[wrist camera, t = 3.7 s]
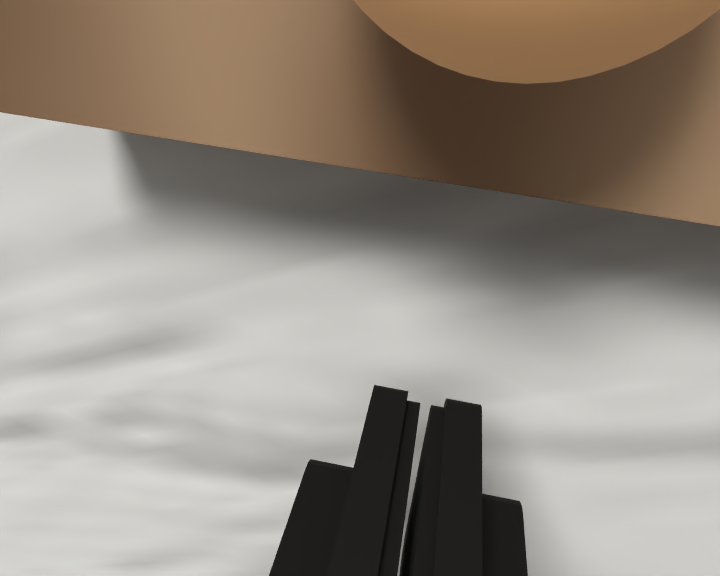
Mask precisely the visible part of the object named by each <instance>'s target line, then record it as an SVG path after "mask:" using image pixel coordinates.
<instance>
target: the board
mask: <svg viewBox="0 0 720 576" xmlns="http://www.w3.org/2000/svg"><path fill="white" fill-rule="evenodd" d="M0 112H3V113H9V114H15V115H22V116H28V117H34V118H41V119H47V120H53V121H59V122H66V123H72V124H78V125H85V126H91V127H97V128H103V129H110V130H116V131H122V132H129V133H135V134H141V135H148V136H154V137H160V138H166V139H173V140H179V141H185V142H192V143H198V144H204V145H211V146H217V147H223V148H229V149H236V150H242V151H248V152H255V153H261V154H267V155H274V156H280V157H286V158H292V159H299V160H305V161H311V162H318V163H324V164H330V165H336V166H343V167H349V168H355V169H362V170H368V171H374V172H381V173H387V174H393V175H399V176H406V177H412V178H418V179H425V180H431V181H437V182H444V183H450V184H456V185H462V186H469V187H475V188H481V189H488V190H494V191H500V192H507V193H513V194H519V195H525V196H532V197H538V198H544V199H551V200H557V201H563V202H570V203H576V204H582V205H588V206H595V207H601V208H607V209H614V210H620V211H626V212H632V213H639V214H645V215H651V216H658V217H664V218H670V219H677V220H683V221H689V222H695V223H702V224H708V225H714V226H720V9H719V10H718V11H717V12H715V13H714V14H713V15H711V16H710V17H709V18H707V19H706V20H705V21H703V22H702V23H701V24H699V25H698V26H697V27H695V28H694V29H693V30H691V31H690V32H688V33H686V34H685V35H683V36H681V37H679V38H678V39H676V40H674V41H673V42H671V43H669V44H668V45H666V46H664V47H663V48H661V49H659V50H657V51H655V52H653V53H650V54H648V55H646V56H644V57H642V58H639V59H637V60H635V61H633V62H631V63H628V64H626V65H623V66H620V67H617V68H614V69H611V70H608V71H604V72H601V73H598V74H595V75H592V76H588V77H582V78H577V79H572V80H566V81H561V82H550V83H533V84H522V83H508V82H495V81H491V80H486V79H481V78H477V77H472V76H467V75H464V74H461V73H458V72H456V71H453V70H450V69H447V68H445V67H442V66H439V65H437V64H435V63H433V62H431V61H429V60H427V59H425V58H423V57H422V56H420V55H418V54H416V53H414V52H412V51H410V50H409V49H407V48H406V47H405V46H403V45H402V44H400V43H399V42H398V41H396V40H395V39H393V38H392V37H391V36H389V35H388V34H386V33H385V32H384V31H383V30H382V29H381V28H380V27H379V26H378V25H377V24H376V23H375V22H373V21H372V20H371V19H370V18H369V17H368V16H367V15H366V14H365V13H364V12H363V11H362V10H361V9H360V7H359V6H358V5H357V4H356V3H355V1H354V0H0Z"/></svg>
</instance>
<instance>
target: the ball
mask: <svg viewBox="0 0 720 576" xmlns="http://www.w3.org/2000/svg"><path fill="white" fill-rule="evenodd" d="M354 1H355V3H356V4H357V5H358V6H359V7H360V9H361V10H362V11H363V12H364V13H365V14H366V15H367V16H368V17H369V18H370V19H371V20H372V21H373V22H375V23H376V24H377V25H378V26H379V27H380V28H381V29H382V30H383V31H384V32H385V33H386V34H388V35H389V36H391V37H392V38H393V39H395V40H396V41H398V42H399V43H400V44H402V45H403V46H405V47H406V48H407V49H409V50H410V51H412V52H414V53H416V54H418V55H420V56H422V57H423V58H425V59H427V60H429V61H431V62H433V63H435V64H437V65H439V66H442V67H445V68H447V69H450V70H453V71H456V72H458V73H461V74H464V75H467V76H472V77H477V78H481V79H486V80H491V81H495V82H508V83H522V84H533V83H550V82H561V81H566V80H572V79H577V78H582V77H588V76H592V75H595V74H598V73H601V72H604V71H608V70H611V69H614V68H617V67H620V66H623V65H626V64H628V63H631V62H633V61H635V60H637V59H639V58H642V57H644V56H646V55H648V54H650V53H653V52H655V51H657V50H659V49H661V48H663V47H664V46H666V45H668V44H669V43H671V42H673V41H674V40H676V39H678V38H679V37H681V36H683V35H685V34H686V33H688V32H690V31H691V30H693V29H694V28H695V27H697V26H698V25H699V24H701V23H702V22H703V21H705V20H706V19H707V18H709V17H710V16H711V15H713V14H714V13H715V12H717V11H718V10H719V9H720V0H354Z"/></svg>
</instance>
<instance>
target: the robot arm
mask: <svg viewBox="0 0 720 576" xmlns="http://www.w3.org/2000/svg"><path fill="white" fill-rule="evenodd" d="M407 396H408V391H404V390H398V389H393V388H388V387H382V386H377V385H374V388H373V392H372V396H371V400H370V404H369V408H368V412H367V416H366V420H365V424H364V428H363V432H362V436H361V440H360V444H359V448H358V452H357V456H356V460H355V464H354V468H352V467H347V466H342V465H337V464H332V463H327V462H322V461H317V460H312V459H310V461H309V462H308V464H307V467H306V469H305V472H304V475H303V478H302V481H301V484H300V487H299V490H298V493H297V495H296V498H295V501H294V504H293V507H292V510H291V513H290V516H289V519H288V522H287V525H286V528H285V530H284V533H283V536H282V539H281V542H280V545H279V548H278V551H277V554H276V557H275V560H274V563H273V566H272V568H271V571H270V574H269V576H397V572H398V565H399V558H400V550H401V543H402V535H403V528H404V521H405V513H406V506H407V498H408V491H409V483H410V476H411V469H412V461H413V454H414V446H415V439H416V432H417V424H418V417H419V409H420V403H417V402H412V401H407ZM399 576H528V574H527V561H526V548H525V535H524V522H523V511H522V505H521V503H520V501H516V500H511V499H506V498H501V497H496V496H491V495H486V494H482V407H481V405H478V404H473V403H468V402H462V401H457V400H452V399H446V401H445V404H444V408H443V407H438V406H433V405H431V408H430V412H429V417H428V422H427V427H426V432H425V437H424V442H423V447H422V452H421V457H420V462H419V467H418V472H417V477H416V483H415V488H414V493H413V498H412V503H411V508H410V513H409V518H408V523H407V528H406V533H405V539H404V545H403V552H402V560H401V567H400V575H399Z"/></svg>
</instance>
